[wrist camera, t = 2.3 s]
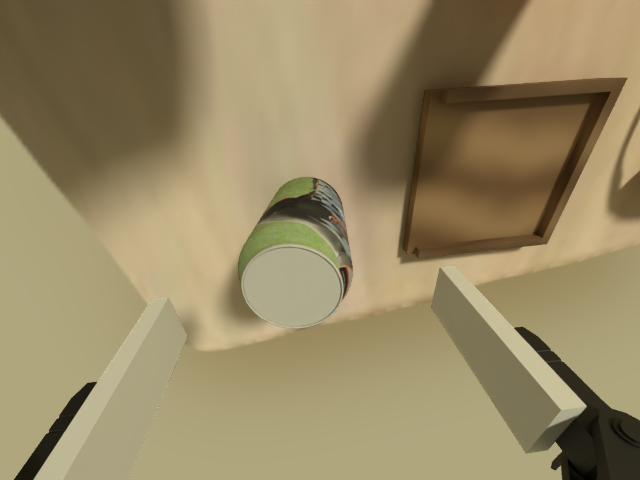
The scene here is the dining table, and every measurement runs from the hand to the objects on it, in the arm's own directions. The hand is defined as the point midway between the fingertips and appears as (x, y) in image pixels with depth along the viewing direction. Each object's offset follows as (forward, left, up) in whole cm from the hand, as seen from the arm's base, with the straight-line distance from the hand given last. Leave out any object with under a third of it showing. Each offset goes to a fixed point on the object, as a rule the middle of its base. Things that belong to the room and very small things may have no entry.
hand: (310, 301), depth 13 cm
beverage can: (0, 0, -12) cm, 12 cm away
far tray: (-1, +17, -12) cm, 21 cm away
